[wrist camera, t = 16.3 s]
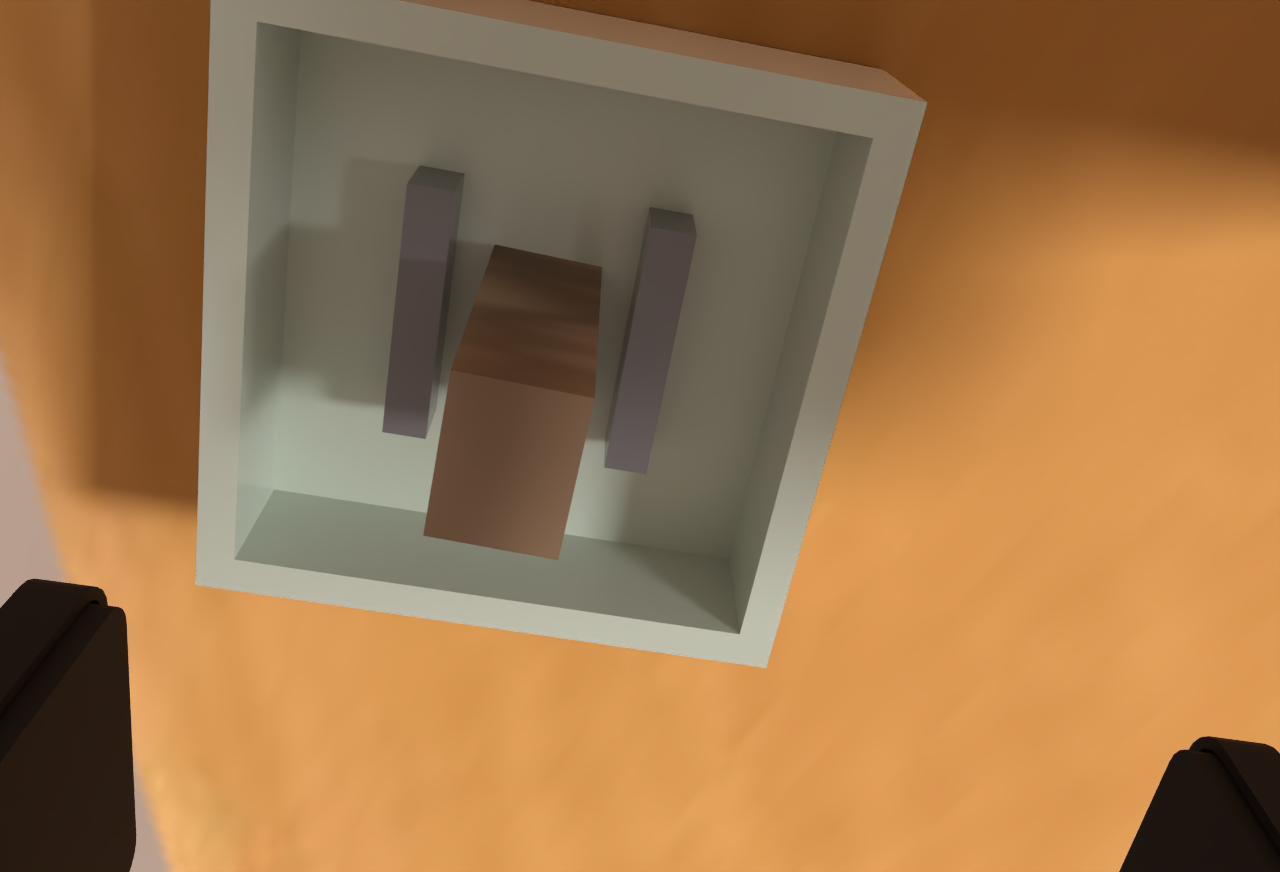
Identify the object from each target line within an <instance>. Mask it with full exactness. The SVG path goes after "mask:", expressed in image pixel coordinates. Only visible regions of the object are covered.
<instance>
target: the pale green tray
mask: <svg viewBox="0 0 1280 872" xmlns="http://www.w3.org/2000/svg"><path fill="white" fill-rule="evenodd" d="M927 103H928V102H926V101H925V100H924V99H922V98H921V97H920V96H918V95H917V94H915V93H914V92H913V91H911V90H910V89H909V88H907V87H906V86H905V85H903V84H902V83H901V82H899V81H898V80H897V79H895V78H894V77H893V76H891V75H890V74H889V73H887V72H886V71H885V70H883V69H878V68H873V67H868V66H862V65H857V64H852V63H847V62H842V61H837V60H832V59H826V58H821V57H816V56H811V55H806V54H801V53H796V52H791V51H785V50H780V49H775V48H770V47H765V46H760V45H755V44H750V43H744V42H739V41H734V40H729V39H724V38H719V37H714V36H709V35H703V34H698V33H693V32H688V31H683V30H678V29H673V28H668V27H662V26H657V25H652V24H647V23H642V22H637V21H632V20H627V19H621V18H616V17H611V16H606V15H601V14H596V13H591V12H586V11H580V10H575V9H570V8H565V7H560V6H555V5H550V4H545V3H539V2H534V1H529V0H211V7H210V46H209V84H208V123H207V162H206V201H205V240H204V279H203V318H202V357H201V396H200V435H199V474H198V513H197V552H196V585H199V586H206V587H213V588H220V589H227V590H234V591H241V592H247V593H254V594H261V595H268V596H275V597H282V598H289V599H296V600H302V601H309V602H316V603H323V604H330V605H337V606H344V607H350V608H357V609H364V610H371V611H378V612H385V613H392V614H399V615H405V616H412V617H419V618H426V619H433V620H440V621H447V622H453V623H460V624H467V625H474V626H481V627H488V628H495V629H502V630H508V631H515V632H522V633H529V634H536V635H543V636H550V637H557V638H563V639H570V640H577V641H584V642H591V643H598V644H605V645H611V646H618V647H625V648H632V649H639V650H646V651H653V652H660V653H666V654H673V655H680V656H687V657H694V658H701V659H708V660H714V661H721V662H728V663H735V664H742V665H749V666H756V667H763V668H766V667H767V664H768V660H769V657H770V653H771V650H772V646H773V643H774V639H775V636H776V632H777V629H778V625H779V622H780V618H781V615H782V611H783V608H784V604H785V601H786V597H787V594H788V590H789V587H790V583H791V580H792V576H793V573H794V569H795V565H796V562H797V558H798V555H799V551H800V548H801V544H802V541H803V537H804V534H805V530H806V527H807V523H808V520H809V516H810V513H811V509H812V506H813V502H814V499H815V495H816V492H817V488H818V485H819V481H820V478H821V474H822V471H823V467H824V464H825V460H826V457H827V453H828V450H829V446H830V443H831V439H832V436H833V432H834V429H835V425H836V422H837V418H838V415H839V411H840V408H841V404H842V401H843V397H844V394H845V390H846V387H847V383H848V380H849V376H850V373H851V369H852V366H853V362H854V359H855V355H856V352H857V348H858V345H859V341H860V338H861V334H862V331H863V327H864V324H865V320H866V317H867V313H868V310H869V306H870V303H871V299H872V296H873V292H874V288H875V285H876V281H877V278H878V274H879V271H880V267H881V264H882V260H883V257H884V253H885V250H886V246H887V243H888V239H889V236H890V232H891V229H892V225H893V222H894V218H895V215H896V211H897V208H898V204H899V201H900V197H901V194H902V190H903V187H904V183H905V180H906V176H907V173H908V169H909V166H910V162H911V159H912V155H913V152H914V148H915V145H916V141H917V138H918V134H919V131H920V127H921V124H922V120H923V117H924V113H925V110H926V106H927ZM495 244H496V245H500V246H505V247H510V248H515V249H519V250H524V251H529V252H534V253H538V254H543V255H548V256H553V257H557V258H562V259H567V260H572V261H576V262H581V263H586V264H590V265H595V266H600V267H602V278H601V296H600V314H599V332H598V350H597V368H596V386H595V400H594V404H593V409H592V413H591V417H590V422H589V426H588V431H587V435H586V440H585V444H584V448H583V453H582V457H581V462H580V466H579V471H578V475H577V480H576V484H575V488H574V493H573V497H572V502H571V506H570V511H569V515H568V519H567V524H566V528H565V533H564V537H563V542H562V546H561V550H560V555H559V559H558V560H553V559H548V558H543V557H537V556H532V555H526V554H521V553H515V552H510V551H504V550H499V549H493V548H488V547H483V546H477V545H472V544H466V543H461V542H455V541H450V540H444V539H439V538H433V537H428V536H423V534H424V528H425V521H426V515H427V509H428V503H429V497H430V491H431V485H432V479H433V473H434V467H435V461H436V455H437V449H438V443H439V437H440V431H441V425H442V419H443V413H444V407H445V401H446V395H447V389H448V383H449V377H450V371H451V367H452V365H453V362H454V359H455V356H456V353H457V350H458V347H459V345H460V342H461V339H462V336H463V333H464V330H465V328H466V325H467V322H468V319H469V316H470V313H471V310H472V308H473V305H474V302H475V299H476V296H477V293H478V291H479V288H480V285H481V282H482V279H483V276H484V273H485V271H486V268H487V265H488V262H489V259H490V256H491V254H492V251H493V248H494V245H495Z"/></svg>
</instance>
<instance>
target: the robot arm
mask: <svg viewBox="0 0 1280 872" xmlns="http://www.w3.org/2000/svg"><path fill="white" fill-rule="evenodd" d="M135 846H136V821H135V799H134V777H133V755H132V732H131V710H130V688H129V666H128V644H127V623H126V616H125V613H124V611H123V609H121V608H119V607H113V606H108V604H107V598H106V596H105V593H104V591H103V590H102V589H100V588H98V587H93V586H85V585H78V584H71V583H63V582H56V581H48V580H41V579H31V580H27V581H26V582H25V583H23V584H22V585H21V586H20V587H19V588H18V589H17V590H16V591H15V592H14V593H13V595H12V596H11V597H10V598H9V599H8V600H7V601H6V602H5V604H4V605H3V606H2V607H1V608H0V872H129V871H130V868H131V865H132V861H133V857H134V853H135ZM1119 872H1280V753H1279V752H1278V751H1277V750H1276V749H1275V748H1273V747H1271V746H1269V745H1266V744H1262V743H1254V742H1247V741H1239V740H1232V739H1224V738H1217V737H1210V736H1208V737H1200V738H1199V739H1198V740H1196V741H1195V742H1194V743H1193V744H1192V745H1191V747H1190V749H1189V750H1179V751H1178V752H1177V753H1175V754H1174V755H1173V757H1172V759H1171V760H1170V762H1169V764H1168V766H1167V768H1166V771H1165V773H1164V775H1163V777H1162V779H1161V782H1160V784H1159V786H1158V788H1157V790H1156V793H1155V795H1154V797H1153V799H1152V801H1151V803H1150V806H1149V808H1148V810H1147V812H1146V814H1145V817H1144V819H1143V821H1142V823H1141V825H1140V828H1139V830H1138V832H1137V834H1136V836H1135V839H1134V841H1133V843H1132V845H1131V847H1130V849H1129V852H1128V854H1127V856H1126V858H1125V860H1124V863H1123V865H1122V867H1121V869H1120V871H1119Z"/></svg>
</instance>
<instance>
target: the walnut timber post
mask: <svg viewBox="0 0 1280 872" xmlns="http://www.w3.org/2000/svg"><path fill="white" fill-rule="evenodd" d="M601 278H602V267H600V266H595V265H590V264H586V263H581V262H576V261H572V260H567V259H562V258H557V257H553V256H548V255H543V254H538V253H534V252H529V251H524V250H519V249H515V248H510V247H505V246H500V245H496V244H495V245H494V248H493V251H492V254H491V256H490V259H489V262H488V265H487V268H486V271H485V273H484V276H483V279H482V282H481V285H480V288H479V291H478V293H477V296H476V299H475V302H474V305H473V308H472V310H471V313H470V316H469V319H468V322H467V325H466V328H465V330H464V333H463V336H462V339H461V342H460V345H459V347H458V350H457V353H456V356H455V359H454V362H453V365H452V367H451V371H450V377H449V383H448V389H447V395H446V401H445V407H444V413H443V419H442V425H441V431H440V437H439V443H438V449H437V455H436V461H435V467H434V473H433V479H432V485H431V491H430V497H429V503H428V509H427V515H426V521H425V528H424V534H423V536H428V537H433V538H439V539H444V540H450V541H455V542H461V543H466V544H472V545H477V546H483V547H488V548H493V549H499V550H504V551H510V552H515V553H521V554H526V555H532V556H537V557H543V558H548V559H553V560H558V559H559V555H560V550H561V546H562V542H563V537H564V533H565V528H566V524H567V519H568V515H569V511H570V506H571V502H572V497H573V493H574V488H575V484H576V480H577V475H578V471H579V466H580V462H581V457H582V453H583V448H584V444H585V440H586V435H587V431H588V426H589V422H590V417H591V413H592V409H593V404H594V400H595V386H596V368H597V350H598V332H599V314H600V296H601Z"/></svg>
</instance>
